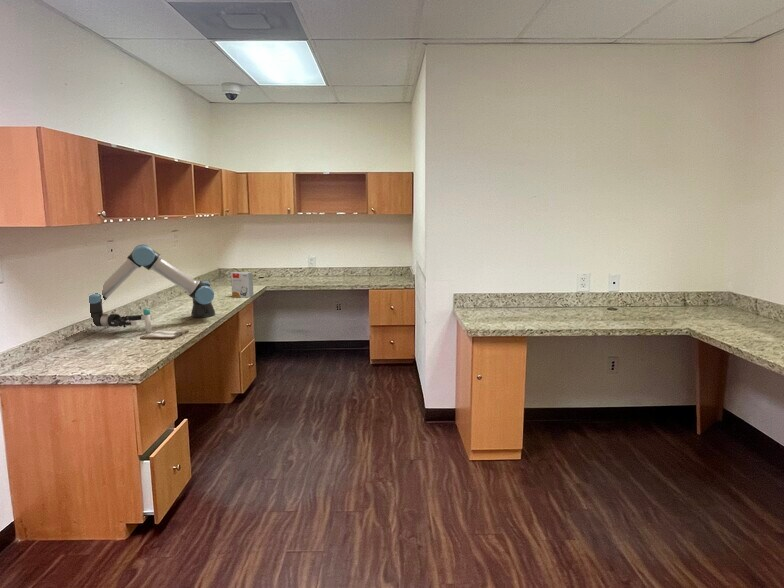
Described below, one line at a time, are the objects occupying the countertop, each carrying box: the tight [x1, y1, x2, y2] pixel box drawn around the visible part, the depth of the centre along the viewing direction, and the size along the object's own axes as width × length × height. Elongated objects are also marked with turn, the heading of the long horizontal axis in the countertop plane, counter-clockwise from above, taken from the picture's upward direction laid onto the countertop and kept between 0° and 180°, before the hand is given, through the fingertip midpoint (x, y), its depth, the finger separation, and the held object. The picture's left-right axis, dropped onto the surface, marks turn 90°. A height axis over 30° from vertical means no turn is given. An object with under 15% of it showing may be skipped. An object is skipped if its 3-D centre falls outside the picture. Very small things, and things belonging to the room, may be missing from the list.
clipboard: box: [139, 329, 190, 340], centre depth 286 cm, size 16×20×2 cm
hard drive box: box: [230, 271, 255, 299], centre depth 405 cm, size 16×8×20 cm, turn 77°
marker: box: [142, 308, 153, 334], centre depth 293 cm, size 3×3×14 cm
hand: (144, 320), depth 293 cm, fingers open, 13 cm apart
